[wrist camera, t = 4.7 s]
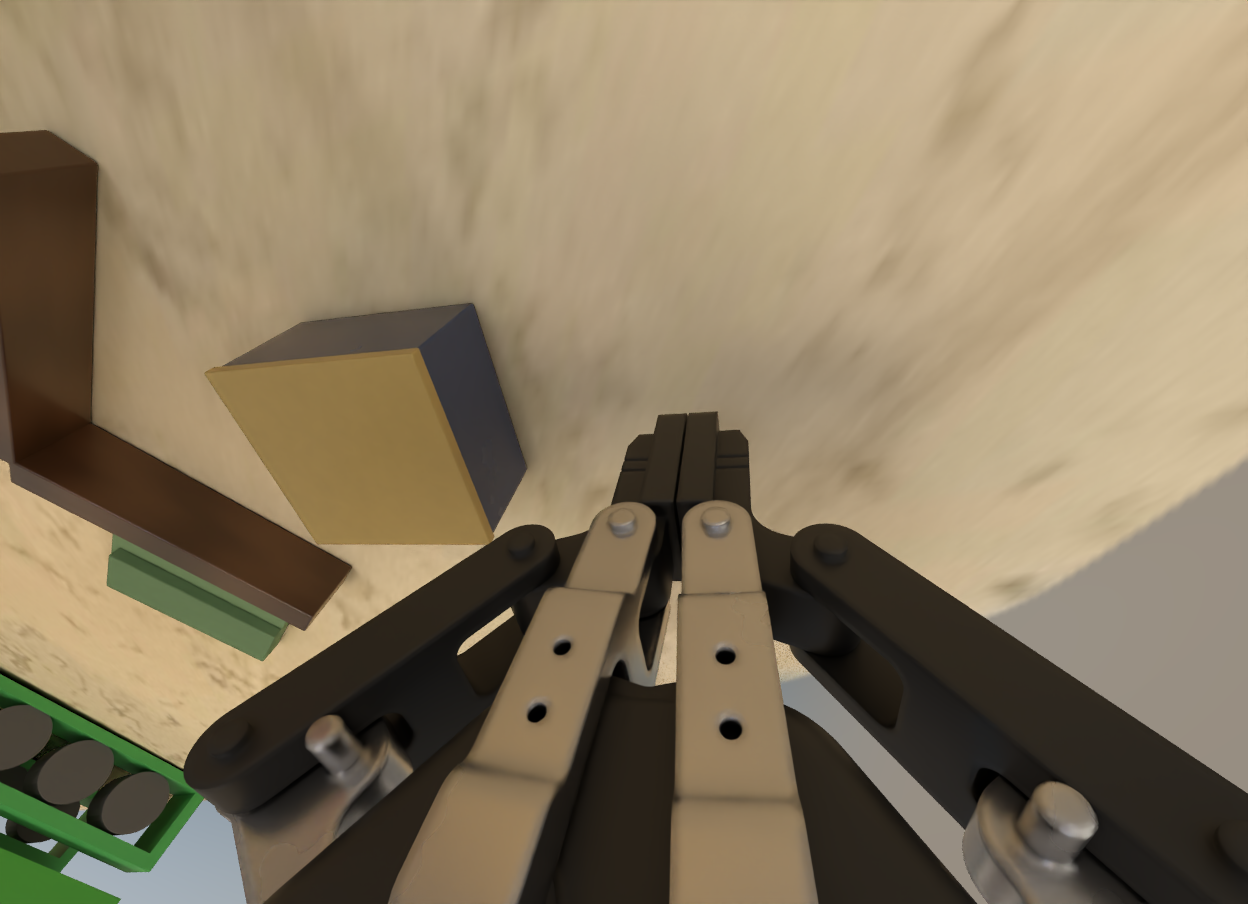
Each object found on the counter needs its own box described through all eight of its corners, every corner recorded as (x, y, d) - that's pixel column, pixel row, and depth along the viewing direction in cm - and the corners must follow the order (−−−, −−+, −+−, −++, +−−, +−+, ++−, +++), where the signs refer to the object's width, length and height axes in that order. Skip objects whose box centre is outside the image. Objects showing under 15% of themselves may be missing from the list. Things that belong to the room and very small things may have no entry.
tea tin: (379, 475, 21) (316, 544, 18) (298, 320, 18) (202, 372, 15) (529, 470, 20) (490, 545, 17) (475, 300, 16) (411, 353, 13)
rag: (122, 565, 29) (98, 584, 28) (130, 493, 25) (101, 512, 24) (278, 642, 31) (261, 664, 30) (307, 587, 27) (289, 608, 26)
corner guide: (204, 577, 28) (154, 624, 26) (-143, 177, 17) (-284, 191, 15) (361, 581, 26) (323, 632, 23) (72, 123, 15) (-52, 130, 13)
